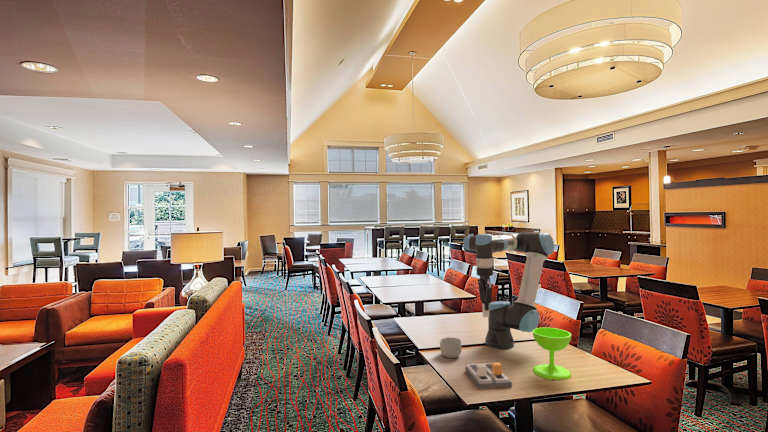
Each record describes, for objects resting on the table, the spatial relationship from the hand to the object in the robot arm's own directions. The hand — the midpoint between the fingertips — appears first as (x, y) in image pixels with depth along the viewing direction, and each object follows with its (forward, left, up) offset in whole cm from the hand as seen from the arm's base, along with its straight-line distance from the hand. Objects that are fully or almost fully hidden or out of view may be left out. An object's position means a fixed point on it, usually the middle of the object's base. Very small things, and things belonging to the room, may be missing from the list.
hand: (485, 316), depth 184 cm
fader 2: (+2, +18, -21) cm, 27 cm away
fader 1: (+9, +19, -21) cm, 29 cm away
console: (+5, +15, -23) cm, 28 cm away
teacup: (+13, -15, -23) cm, 31 cm away
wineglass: (-26, +12, -23) cm, 37 cm away
